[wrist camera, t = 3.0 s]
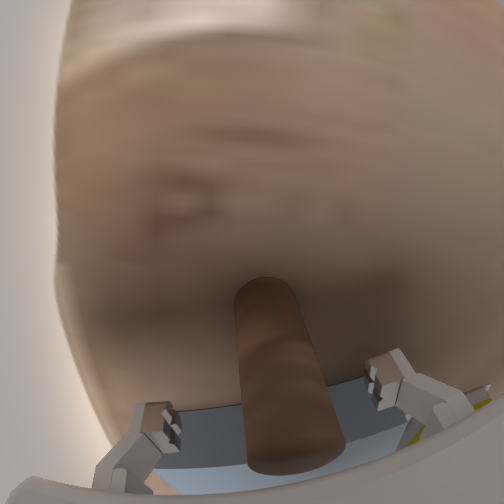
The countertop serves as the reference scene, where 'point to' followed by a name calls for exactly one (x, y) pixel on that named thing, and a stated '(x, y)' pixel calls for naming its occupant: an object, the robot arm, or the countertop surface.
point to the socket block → (234, 449)
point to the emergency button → (415, 427)
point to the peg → (282, 385)
